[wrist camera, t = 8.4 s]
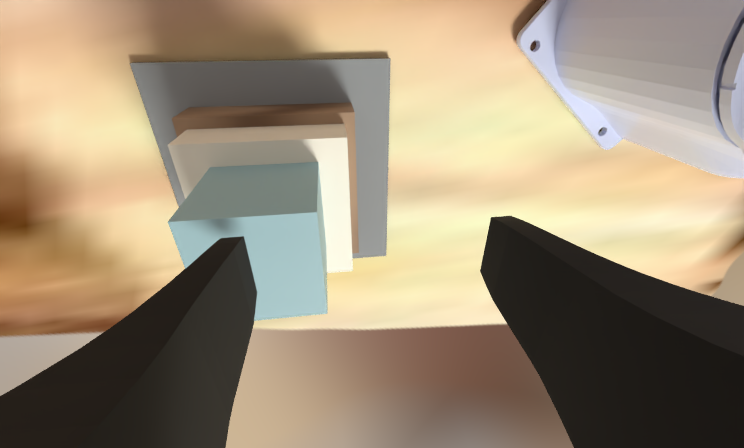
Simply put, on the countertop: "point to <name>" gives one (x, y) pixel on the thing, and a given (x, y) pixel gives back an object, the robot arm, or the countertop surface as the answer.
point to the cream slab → (278, 147)
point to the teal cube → (263, 231)
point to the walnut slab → (281, 117)
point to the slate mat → (277, 87)
